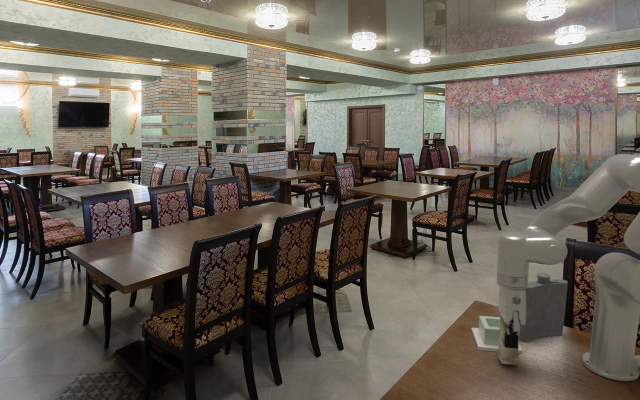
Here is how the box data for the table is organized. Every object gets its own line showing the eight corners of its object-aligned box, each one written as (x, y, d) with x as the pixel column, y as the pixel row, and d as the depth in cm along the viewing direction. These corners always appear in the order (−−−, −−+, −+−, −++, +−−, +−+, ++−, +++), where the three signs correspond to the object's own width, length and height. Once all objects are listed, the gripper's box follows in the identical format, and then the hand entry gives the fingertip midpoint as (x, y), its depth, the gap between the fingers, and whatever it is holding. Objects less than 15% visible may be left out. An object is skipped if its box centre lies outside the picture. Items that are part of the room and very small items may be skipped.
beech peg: (513, 356, 113) (515, 316, 111) (517, 364, 109) (519, 323, 107) (498, 355, 114) (500, 315, 112) (501, 363, 110) (503, 322, 108)
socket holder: (511, 333, 128) (512, 315, 127) (522, 354, 116) (524, 334, 115) (471, 330, 130) (472, 312, 129) (478, 350, 118) (479, 330, 117)
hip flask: (522, 343, 122) (527, 280, 119) (512, 336, 126) (517, 275, 123) (564, 335, 126) (571, 274, 123) (554, 329, 130) (560, 270, 127)
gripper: (537, 292, 98) (533, 361, 102) (518, 269, 115) (515, 329, 118) (504, 290, 100) (501, 358, 103) (490, 268, 116) (487, 327, 119)
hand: (508, 342), depth 110 cm, fingers closed on beech peg, 4 cm apart
